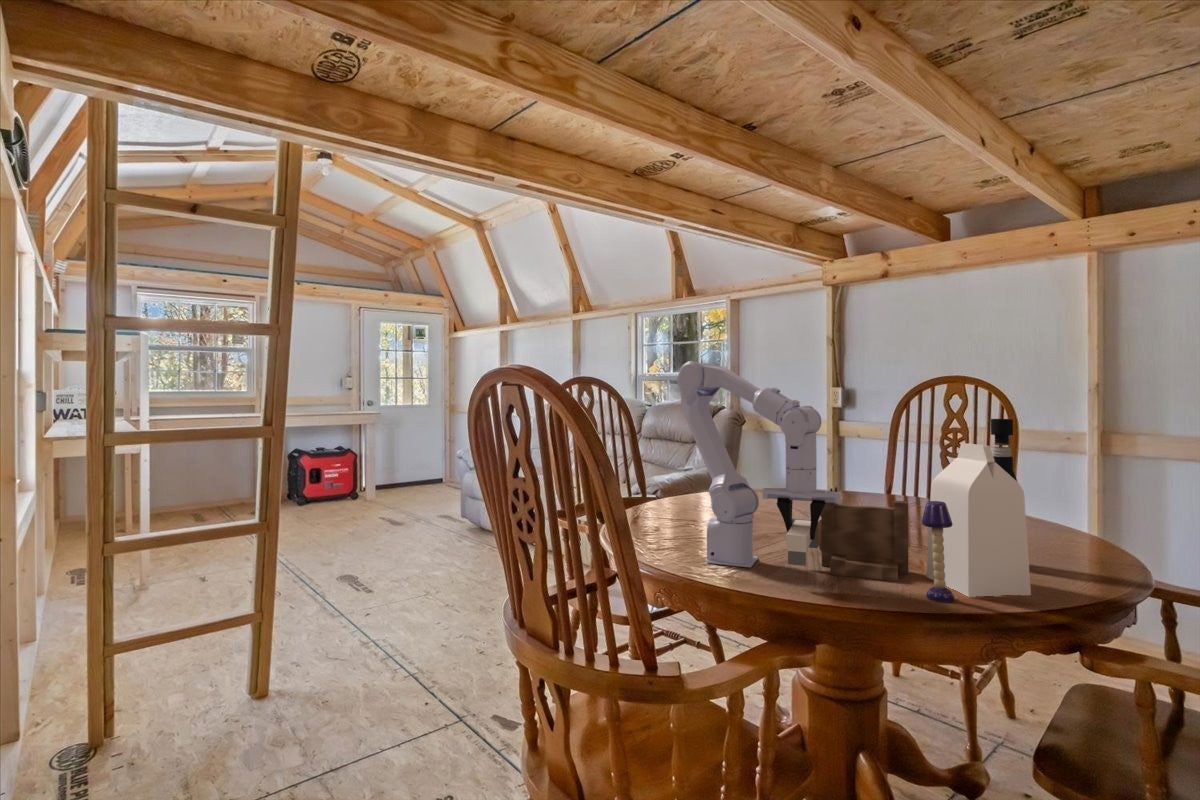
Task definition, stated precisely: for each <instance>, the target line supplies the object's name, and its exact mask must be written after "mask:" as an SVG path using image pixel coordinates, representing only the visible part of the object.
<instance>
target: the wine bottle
mask: <svg viewBox="0 0 1200 800" xmlns="http://www.w3.org/2000/svg"><path fill="white" fill-rule="evenodd" d="M990 435H992V436H994V443H993V444H994V445H995V446H993V448H992V451H993V452H992V454H993V457H994V460H995V463H997V464H998V465H999V466H1000V467H1001V468H1002V469H1003V470H1005V471H1006V472H1007V473H1008V474H1009V475H1010V476H1011V477H1012V478H1014V479H1015V480H1016V481H1017V482H1018V479H1017V477H1016V474H1015V471H1014V457H1013V456H1012V453H1011V452H1012V449H1011V447H1006V446H1009V445H1011V444H1010V436H1013V435H1014V419H1013V418H991V419H990Z"/></svg>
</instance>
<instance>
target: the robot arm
mask: <svg viewBox="0 0 1200 800" xmlns="http://www.w3.org/2000/svg"><path fill="white" fill-rule="evenodd" d="M675 381H676V385H677V386H678V388H679V391H680V406H681V411H682V413H683V415H684V418H685V420H686V423H687V425H688V427H689V429H690V432H691V435H692V436H693V439H694V441H695V443H696V446H697V448H698V451H699V453H700V455H701V457H702V459H703V462H704V464H705V467H706V469H707V471H708V474H709V476H710V478H711V484H710V486H709V489H708V493H709V496H710V501H711V502H710V503H711V504H710V505H711V507H710V508H711V510H712V512H713V514H714V515H715V517H716V518H710V519H709V520H708V522H707V526H706V560H705V562H706V563H707V564H715V565H724V566H732V567H742V568H752V567H753V566H754V565H755V563H756V562H757V560H758V558H759V557H758V556H757V555H754V514H755V513H756V511H757V510H758V508H759V505H760V499H759V496H758V494H757V492H756V491H755V490H754V489H753V488H752V487H751V486H750V485H749V483H748V481H747V479H746V478H745V477H744V476H743V475H741V474H740V473H739V472H737V471H736V468H735V466H734V463H733V461H732V458H731V457H730V455H729V453H728V450H727V448H726V446H725V443H724V441H723V439H722V437H721V434H720V432H719V430H718V428H717V425H716V423H715V421H714V418H713V416H712V414H711V412H710V409H709V406H710V403H711V401H712V400H713V399H714V397H715V396H716V395H717V393H718V392H719V390H720V389H721V388H722V389H724V390H726V391H728V392H730V393H732V394H734V395H736V396H737V397H740V398H742V399H743V400H745V401H747V402H749V403H751V404H752V409H753V411H754V412H755V413H757V414H758V415H760V416H761V417H763V418H765V419H767V420H768V421H770V422H772V423H773V424H775V425H776V426H778V427H779V428H780V431H782V433H783V434H784V442H785V488H784V487H780V488H779V487H778V488H777V487H776V488H775V487H764V488H763V489H762V491H761V492H762V493H761V494H762V498H761V499H763V500H770V499H772V500H777V501H776V506H777V508H778V511H779V513H780V515H781V517H782V520H783V522H784V525H785V528H786V534H787V533H788V531H789V530H790V528H791V526H792V519H793V502H794V501H801V502H811V503H809V509H810V510H809V511H810V520H811V527H810V540H814V538H815V531H816V527H817V523H818V522H819V521H820V518H821V516H820V515H821V512H822V510H823V508H824V506H825V504H826V503H825V502H830V503H836V504H839V505H842V504H841V503H842V492H841V491H837V492H834V491H833V492H831V491H830V490H821V489H817V432H819V430H820V428H821V426H822V417H821V415H820V413H819V411H817V410H816V409H815V408H814V407H813V406H812V405H803V406H801V405H800V404H801V403H800V401H799V400H797V399H791V398H789V397H787V396H785V395H783V394H781V389H779V388H777V387H772V388H770V387H766V388H762V389H761V388H759V387H757V386H756V385H754V384H753V383H751V382H749V381H748V380H746V379H745V378H743V377H741V376H740V375H739V374H737V373H735V372H734V371H732V370H731V369H729V368H728V367H726V366H722V365H721V364H719V363H717V362H696V361H687V362H685V363H684V364H682V366H681V367H680V368H679V372H678V374H677V376H676V379H675Z"/></svg>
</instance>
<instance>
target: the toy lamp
mask: <svg viewBox="0 0 1200 800" xmlns="http://www.w3.org/2000/svg"><path fill="white" fill-rule="evenodd" d="M921 525H922V526H923V527H928V528H929V527H932V533H933V536H932V541H933V546H932V548H933V551H934V553H933V559H934V562H933V567H934V569H935V570H934V577H935V580H933V584H934V586H932V587H929V589H928V590H927V591H926V594H925V596H926V598H927V599H929V600H930V601H934V602H939V603H952V602H954V601H955V595H954V594H953V592H952V591H951V589H950V588H948V587H946V582H945V580H944V579H945V572H944V569H945V564H944V562H943V561H944V558H945V557H944V553H943V551H944V546H943V541H944V538H943V535H942V534H943V528H949V527H952V520H951V517H950V514H949V511H948V508H947V505H946V503H945V502H941V501H930V500H929V501H927V502H926V503H925V506H924V511H923V516H922V519H921Z"/></svg>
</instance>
